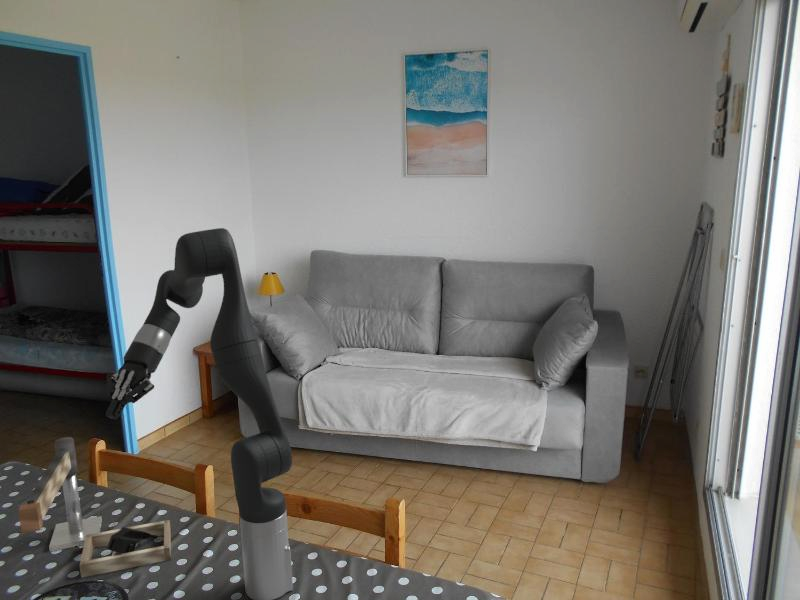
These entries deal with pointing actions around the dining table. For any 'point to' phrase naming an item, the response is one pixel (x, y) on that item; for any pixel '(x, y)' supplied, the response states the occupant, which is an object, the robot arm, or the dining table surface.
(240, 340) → the robot arm
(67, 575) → the dining table surface
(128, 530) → the power plug
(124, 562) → the frame
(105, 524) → the dining table surface
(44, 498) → the bar
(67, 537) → the arm post
